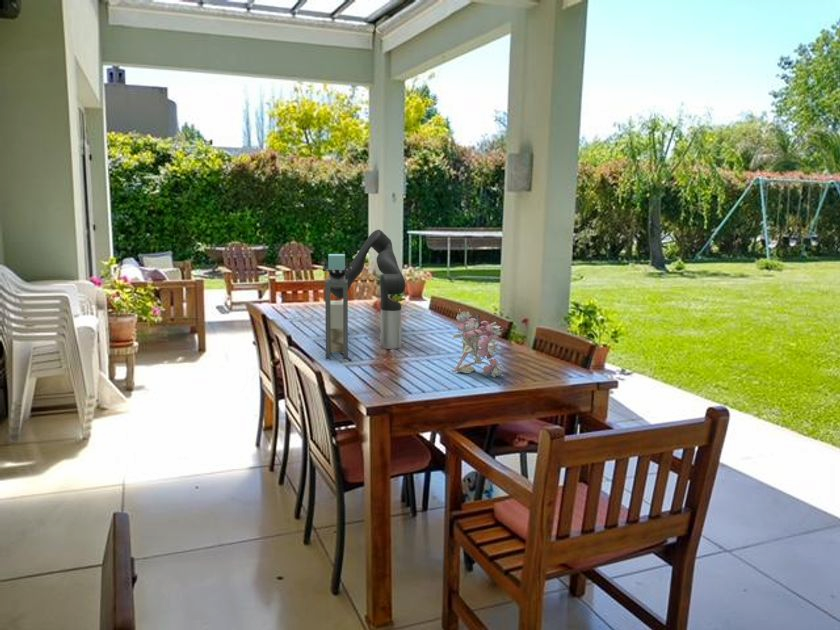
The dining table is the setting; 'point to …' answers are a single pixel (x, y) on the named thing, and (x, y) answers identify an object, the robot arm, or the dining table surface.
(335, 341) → the tower base block
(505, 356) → the dining table surface
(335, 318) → the tower top block
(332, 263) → the handle block
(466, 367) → the flower
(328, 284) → the stand
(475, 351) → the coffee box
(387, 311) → the robot arm
